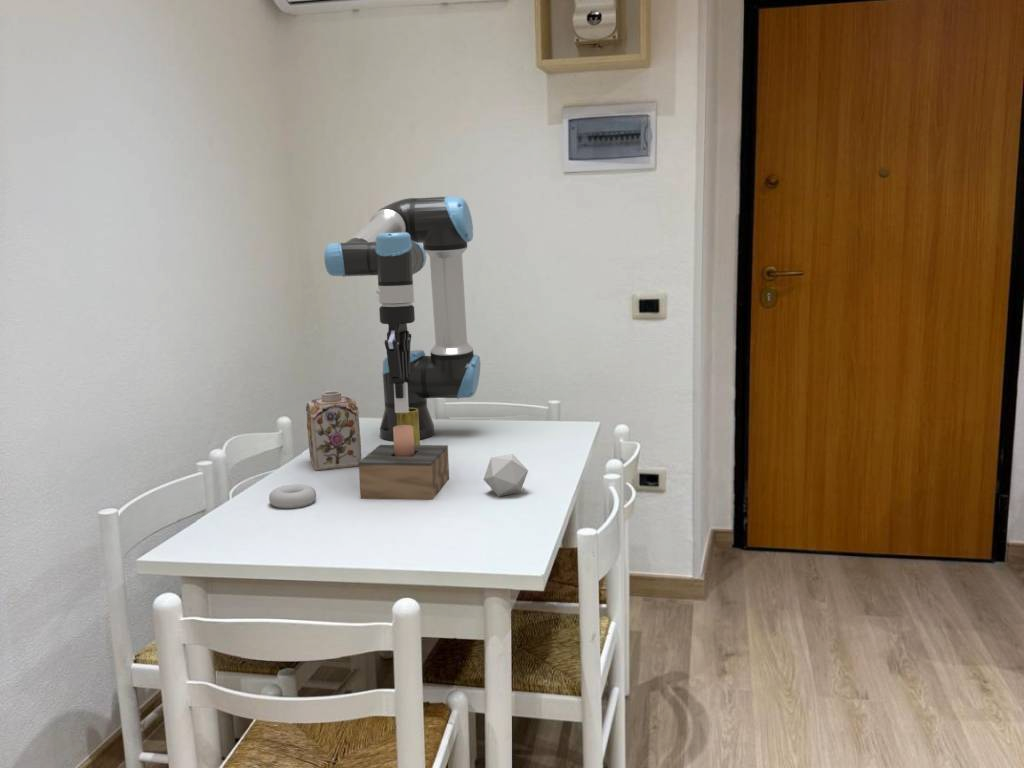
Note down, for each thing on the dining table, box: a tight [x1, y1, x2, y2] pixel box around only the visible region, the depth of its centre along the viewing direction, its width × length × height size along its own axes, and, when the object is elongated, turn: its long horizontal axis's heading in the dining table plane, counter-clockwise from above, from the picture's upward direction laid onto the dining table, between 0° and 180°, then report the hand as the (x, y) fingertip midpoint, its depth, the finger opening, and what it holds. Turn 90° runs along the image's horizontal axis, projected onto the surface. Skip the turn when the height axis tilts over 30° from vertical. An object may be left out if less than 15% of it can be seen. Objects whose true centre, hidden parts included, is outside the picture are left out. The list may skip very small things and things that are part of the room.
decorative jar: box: [305, 390, 362, 472], centre depth 237 cm, size 12×12×18 cm
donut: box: [268, 483, 317, 509], centre depth 206 cm, size 10×4×10 cm
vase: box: [396, 408, 421, 445], centre depth 231 cm, size 6×6×14 cm
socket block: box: [358, 444, 450, 500], centre depth 214 cm, size 16×16×8 cm
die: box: [483, 453, 529, 497], centre depth 208 cm, size 8×9×10 cm
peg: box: [393, 425, 415, 456], centre depth 213 cm, size 4×4×8 cm
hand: (401, 411), depth 211 cm, fingers closed
